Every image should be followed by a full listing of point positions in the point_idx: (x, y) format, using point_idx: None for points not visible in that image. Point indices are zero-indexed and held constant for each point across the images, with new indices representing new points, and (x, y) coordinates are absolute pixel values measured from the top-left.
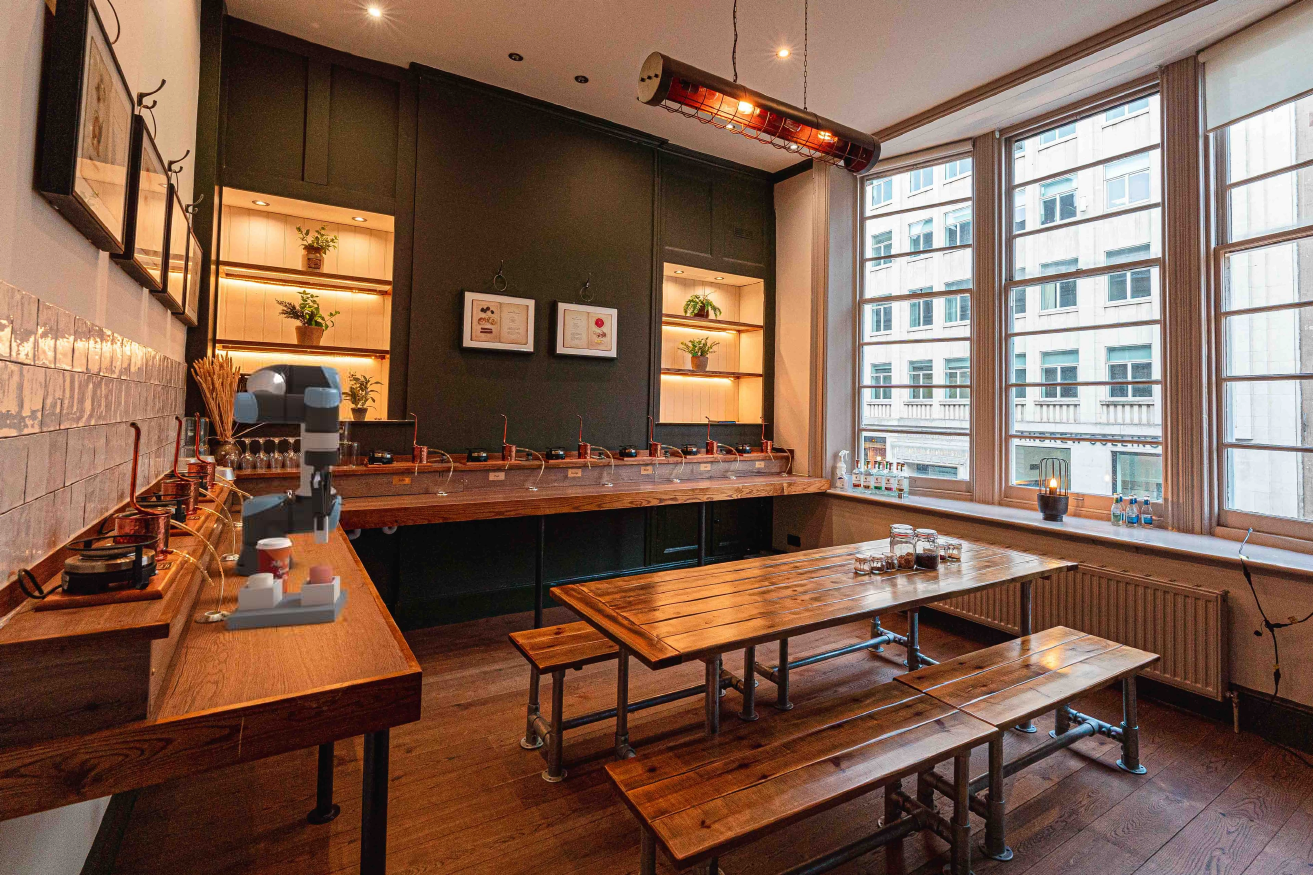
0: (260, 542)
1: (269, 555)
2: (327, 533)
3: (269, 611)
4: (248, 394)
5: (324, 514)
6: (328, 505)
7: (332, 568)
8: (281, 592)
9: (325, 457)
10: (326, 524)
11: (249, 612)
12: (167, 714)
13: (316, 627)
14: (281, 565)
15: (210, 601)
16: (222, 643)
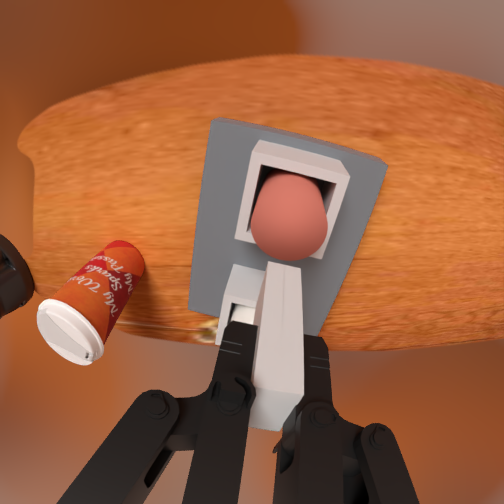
0: (83, 362)
1: (107, 331)
2: (279, 295)
3: (322, 285)
4: None
5: (386, 435)
6: (161, 449)
7: (295, 189)
8: (236, 274)
9: None
10: (302, 349)
11: (307, 312)
12: None
13: (395, 195)
14: (109, 291)
15: (145, 334)
16: (377, 322)
